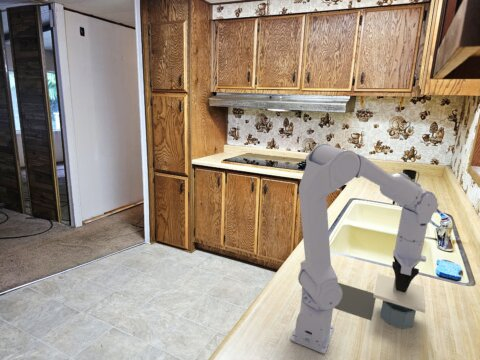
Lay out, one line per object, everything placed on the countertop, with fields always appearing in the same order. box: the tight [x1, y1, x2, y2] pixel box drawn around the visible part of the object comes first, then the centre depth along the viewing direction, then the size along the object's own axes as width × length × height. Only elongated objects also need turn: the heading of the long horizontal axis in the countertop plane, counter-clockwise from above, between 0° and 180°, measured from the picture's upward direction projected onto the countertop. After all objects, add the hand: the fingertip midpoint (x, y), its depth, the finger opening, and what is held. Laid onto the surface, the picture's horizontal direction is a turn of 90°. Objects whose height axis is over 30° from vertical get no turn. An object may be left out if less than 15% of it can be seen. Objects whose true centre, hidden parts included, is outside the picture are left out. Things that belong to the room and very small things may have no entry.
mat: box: [334, 282, 377, 321], centre depth 88 cm, size 13×13×1 cm
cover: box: [373, 273, 426, 314], centre depth 78 cm, size 11×11×5 cm
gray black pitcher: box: [402, 168, 420, 183], centre depth 197 cm, size 9×14×15 cm, turn 117°
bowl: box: [379, 300, 417, 330], centre depth 80 cm, size 7×7×4 cm
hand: (400, 287), depth 79 cm, fingers closed on cover, 3 cm apart
